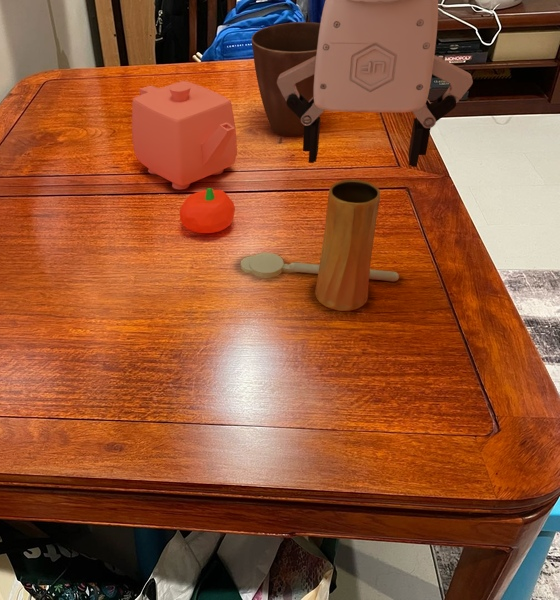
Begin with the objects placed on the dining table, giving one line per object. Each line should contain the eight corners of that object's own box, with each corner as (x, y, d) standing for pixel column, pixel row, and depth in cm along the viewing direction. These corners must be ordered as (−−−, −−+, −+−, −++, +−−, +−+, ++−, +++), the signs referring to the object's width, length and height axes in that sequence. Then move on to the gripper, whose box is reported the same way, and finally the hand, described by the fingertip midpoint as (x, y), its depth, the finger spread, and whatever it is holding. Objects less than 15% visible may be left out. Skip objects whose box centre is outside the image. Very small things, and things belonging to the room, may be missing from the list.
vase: (314, 278, 78) (324, 176, 69) (366, 281, 76) (382, 177, 67) (315, 310, 73) (325, 205, 64) (369, 313, 72) (387, 207, 63)
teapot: (261, 182, 97) (263, 93, 88) (197, 211, 92) (192, 120, 83) (178, 138, 112) (173, 58, 103) (119, 161, 107) (108, 80, 98)
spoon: (398, 270, 78) (399, 262, 77) (398, 292, 74) (399, 284, 74) (243, 255, 83) (243, 248, 82) (237, 275, 79) (237, 268, 79)
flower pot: (353, 128, 109) (365, 33, 99) (292, 155, 103) (298, 58, 93) (292, 105, 119) (297, 16, 109) (233, 129, 113) (232, 38, 103)
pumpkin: (172, 222, 90) (169, 183, 86) (223, 209, 92) (222, 170, 88) (190, 248, 85) (188, 207, 81) (244, 233, 87) (244, 193, 83)
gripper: (273, -13, 52) (270, 172, 63) (502, -22, 47) (457, 180, 58) (285, -33, 57) (280, 140, 68) (490, -43, 53) (451, 145, 63)
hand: (361, 158), depth 63 cm, fingers open, 9 cm apart
